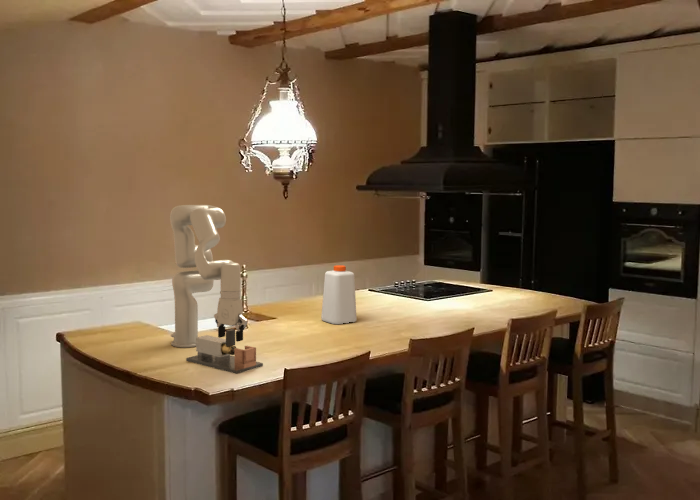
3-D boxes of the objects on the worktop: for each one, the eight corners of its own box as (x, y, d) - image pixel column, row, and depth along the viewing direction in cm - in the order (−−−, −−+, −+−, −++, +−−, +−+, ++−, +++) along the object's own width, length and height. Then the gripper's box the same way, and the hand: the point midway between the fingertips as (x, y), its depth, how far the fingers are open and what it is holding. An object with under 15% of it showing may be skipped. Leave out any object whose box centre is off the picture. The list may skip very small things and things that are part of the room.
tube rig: (186, 360, 288) (186, 338, 287) (213, 354, 300) (213, 333, 299) (236, 373, 272) (236, 350, 271) (262, 366, 283) (263, 343, 282)
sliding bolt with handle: (199, 348, 291) (199, 325, 290) (206, 347, 294) (206, 323, 293) (229, 355, 281) (229, 331, 280) (236, 354, 284) (236, 329, 283)
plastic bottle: (359, 322, 367) (360, 266, 364) (334, 325, 359) (335, 268, 355) (343, 317, 379) (343, 263, 376) (318, 320, 371) (318, 265, 368)
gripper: (207, 293, 283) (207, 337, 285) (239, 298, 272) (239, 344, 274) (222, 291, 289) (222, 333, 291) (253, 296, 278) (253, 340, 280)
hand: (230, 338), depth 282 cm, fingers open, 9 cm apart
